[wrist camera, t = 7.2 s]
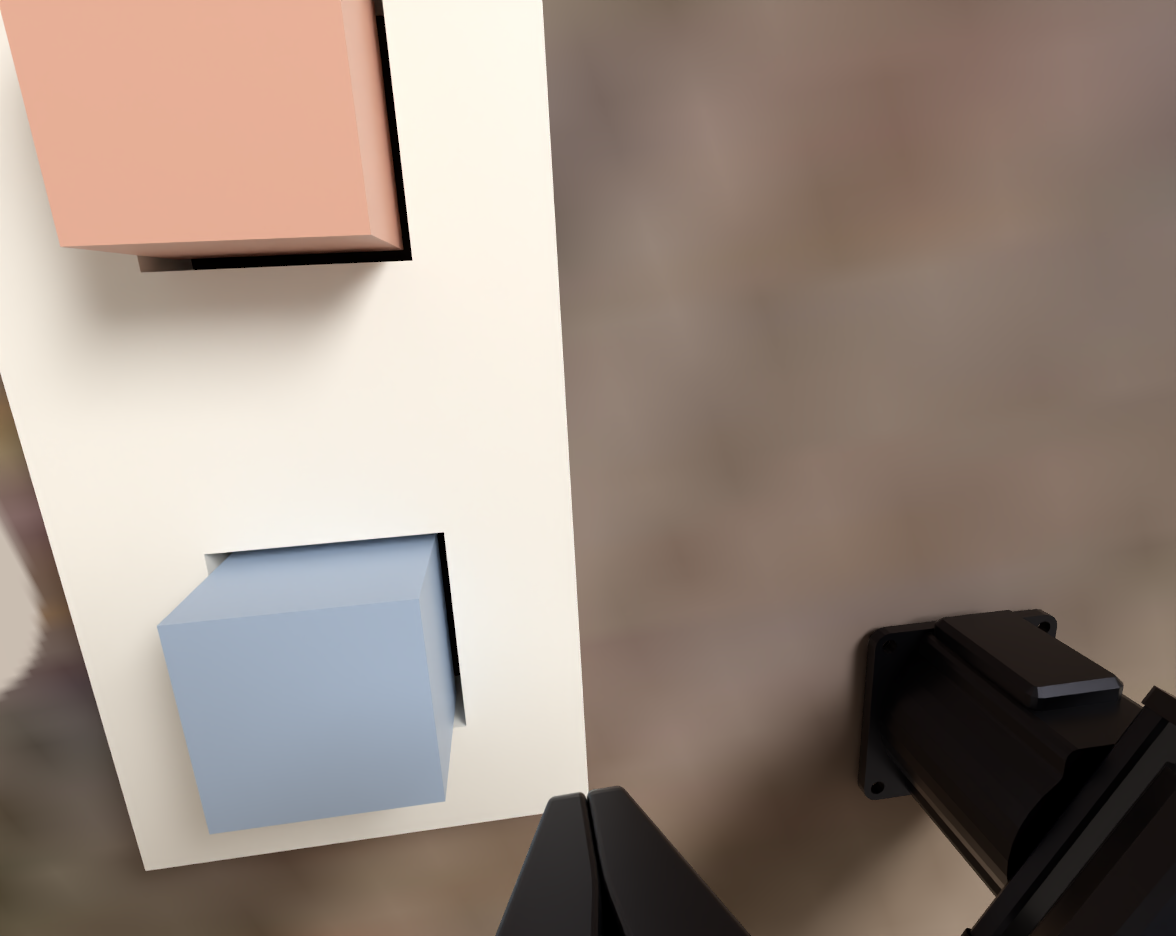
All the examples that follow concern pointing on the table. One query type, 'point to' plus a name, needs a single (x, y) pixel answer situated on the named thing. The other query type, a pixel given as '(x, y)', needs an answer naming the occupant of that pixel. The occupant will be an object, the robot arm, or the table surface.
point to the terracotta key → (209, 125)
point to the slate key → (315, 681)
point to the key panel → (321, 430)
